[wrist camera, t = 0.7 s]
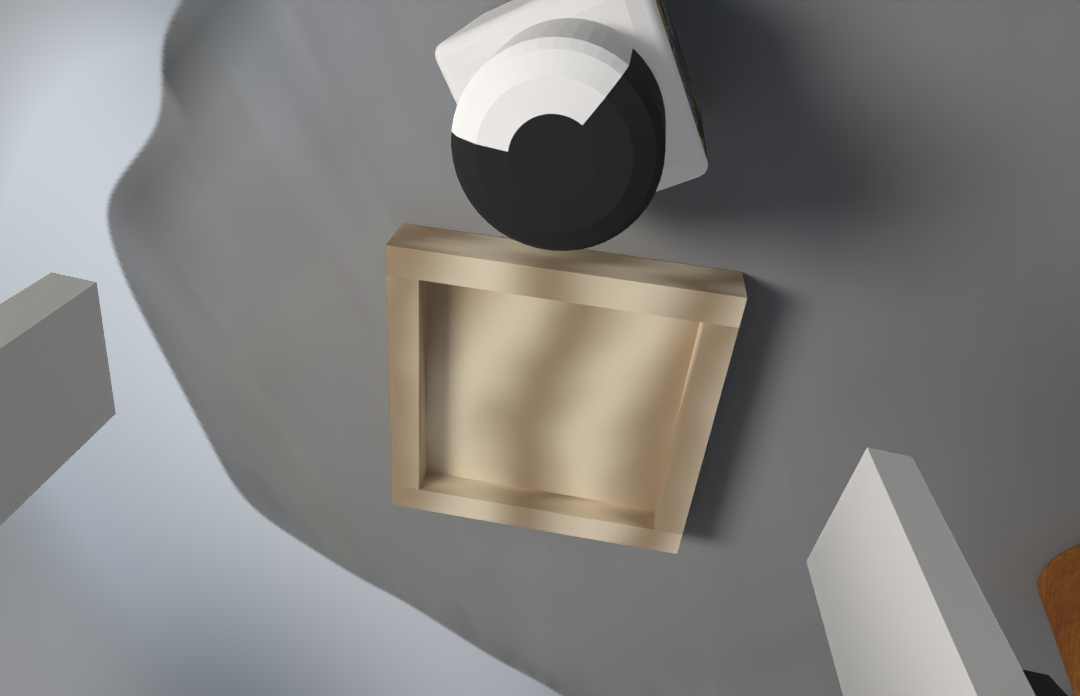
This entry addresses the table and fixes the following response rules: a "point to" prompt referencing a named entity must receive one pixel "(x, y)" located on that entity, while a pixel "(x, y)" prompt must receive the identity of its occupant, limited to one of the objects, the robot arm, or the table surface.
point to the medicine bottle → (570, 117)
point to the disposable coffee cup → (1064, 609)
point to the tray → (553, 383)
